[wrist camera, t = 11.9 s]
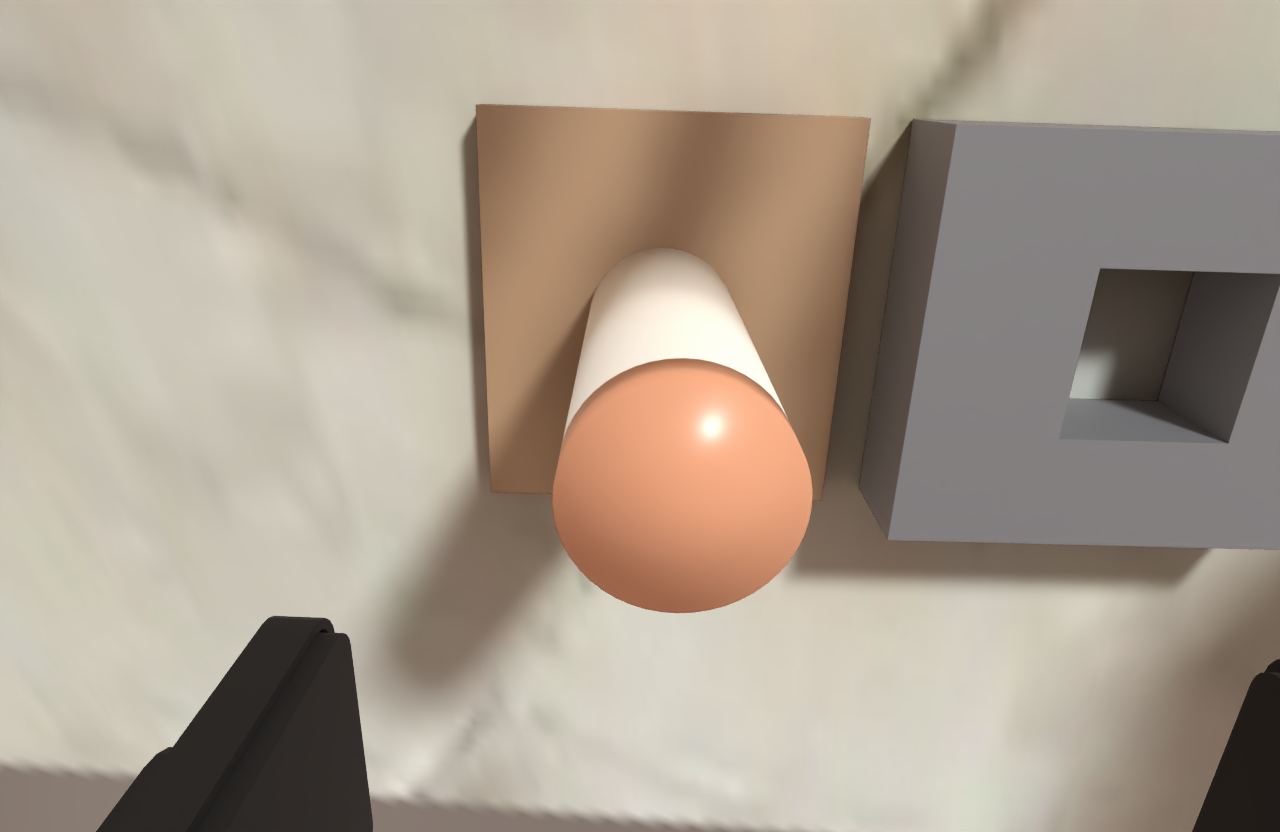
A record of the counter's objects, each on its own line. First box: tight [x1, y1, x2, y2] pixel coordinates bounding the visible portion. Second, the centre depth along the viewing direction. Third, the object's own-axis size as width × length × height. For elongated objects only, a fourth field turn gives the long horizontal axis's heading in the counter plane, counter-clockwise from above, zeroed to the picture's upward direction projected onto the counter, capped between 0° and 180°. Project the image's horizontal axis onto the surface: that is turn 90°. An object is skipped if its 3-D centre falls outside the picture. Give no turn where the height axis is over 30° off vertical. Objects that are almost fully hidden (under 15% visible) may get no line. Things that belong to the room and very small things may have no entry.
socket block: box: [859, 119, 1280, 550], centre depth 25 cm, size 14×12×4 cm
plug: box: [552, 248, 813, 613], centre depth 20 cm, size 4×4×12 cm
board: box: [476, 104, 871, 501], centre depth 26 cm, size 11×12×1 cm
